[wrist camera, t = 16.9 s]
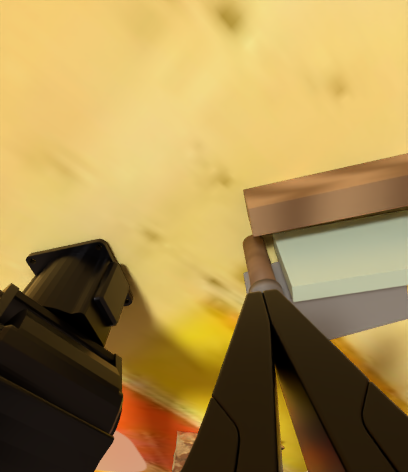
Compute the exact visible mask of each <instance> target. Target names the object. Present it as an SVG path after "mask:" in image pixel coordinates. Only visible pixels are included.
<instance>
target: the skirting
mask: <svg viewBox="0 0 408 472" xmlns="http://www.w3.org/2000/svg"><path fill="white" fill-rule="evenodd" d="M243 191H244V197H245V202H246V207H247V212H248V217H249V221H250V225H251V229H252V232H253V236H254V237H255V236H260V235H265V234H270V233H275V232H280V231H285V230H290V229H295V228H300V227H305V226H310V225H315V224H320V223H325V222H330V221H335V220H340V219H345V218H350V217H355V216H360V215H365V214H370V213H375V212H380V211H385V210H390V209H395V208H400V207H405V206H408V154H403V155H399V156H394V157H390V158H385V159H381V160H376V161H371V162H367V163H362V164H358V165H353V166H349V167H344V168H340V169H335V170H331V171H326V172H322V173H317V174H313V175H308V176H304V177H299V178H295V179H290V180H286V181H281V182H277V183H272V184H268V185H263V186H259V187H254V188H250V189H245V190H243Z"/></svg>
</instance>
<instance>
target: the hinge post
mask: <svg viewBox="0 0 408 472" xmlns="http://www.w3.org/2000/svg"><path fill="white" fill-rule="evenodd" d="M243 248H244V254H245V259H246V264H247V269H248V275H249V280H250V285H251V287H250V289H249V292H257V291H261V292H262V293H263V291H265V290H272V289H277V290H279V291H280V292H281V293H282V294H283V295H284V293H283V290H282V287H281V285H280V284H279V283H278V282H277V281H276V279H275V276H274V273H273V269H272V266H271V263H270V260H269V256H268V253H267V250H266V247H265V243H264V240H263V239H262V237H260V236H255V237H254V236H253V235H250V236H248V237H247V238H245V240H244V241H243Z"/></svg>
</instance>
